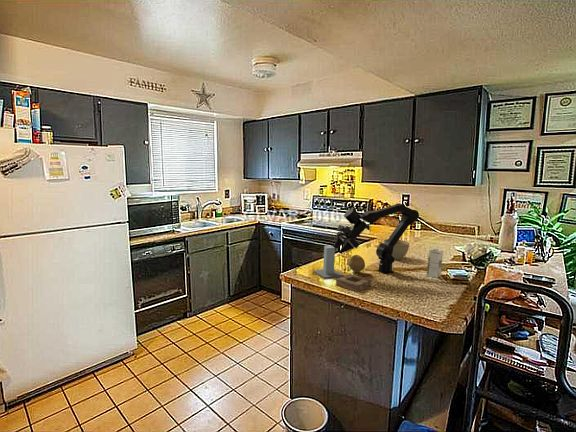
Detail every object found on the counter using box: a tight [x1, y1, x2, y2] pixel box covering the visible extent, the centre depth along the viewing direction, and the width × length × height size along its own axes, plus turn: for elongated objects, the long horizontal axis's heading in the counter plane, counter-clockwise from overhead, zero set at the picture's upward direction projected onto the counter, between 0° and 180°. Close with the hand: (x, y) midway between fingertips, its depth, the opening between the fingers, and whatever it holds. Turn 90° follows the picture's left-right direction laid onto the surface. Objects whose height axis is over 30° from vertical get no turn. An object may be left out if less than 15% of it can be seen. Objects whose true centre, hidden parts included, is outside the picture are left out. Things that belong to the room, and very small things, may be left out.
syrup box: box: [426, 248, 444, 279], centre depth 175 cm, size 6×6×14 cm
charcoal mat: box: [312, 269, 345, 280], centre depth 175 cm, size 12×12×1 cm
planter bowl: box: [382, 238, 411, 261], centre depth 212 cm, size 16×16×11 cm
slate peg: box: [322, 245, 336, 274], centre depth 174 cm, size 4×4×14 cm
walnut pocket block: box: [335, 273, 372, 293], centre depth 158 cm, size 12×12×3 cm
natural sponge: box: [347, 254, 366, 274], centre depth 179 cm, size 9×9×10 cm
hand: (336, 250), depth 174 cm, fingers open, 9 cm apart
